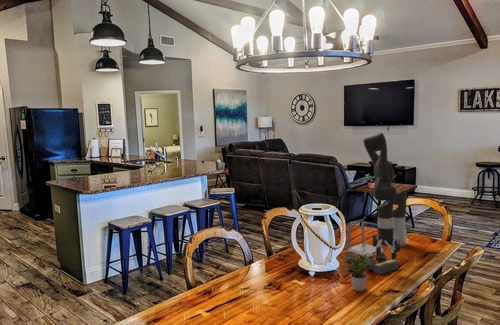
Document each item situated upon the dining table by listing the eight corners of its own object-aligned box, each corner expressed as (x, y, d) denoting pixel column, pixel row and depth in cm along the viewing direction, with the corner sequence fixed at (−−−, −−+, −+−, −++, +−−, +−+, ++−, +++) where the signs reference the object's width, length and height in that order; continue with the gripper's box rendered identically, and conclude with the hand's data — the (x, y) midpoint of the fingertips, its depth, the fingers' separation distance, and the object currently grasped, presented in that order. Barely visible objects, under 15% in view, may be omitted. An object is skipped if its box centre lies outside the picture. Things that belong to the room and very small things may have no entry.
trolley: (344, 261, 207) (343, 222, 205) (359, 256, 214) (358, 218, 212) (372, 270, 193) (371, 228, 190) (387, 264, 199) (386, 224, 197)
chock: (380, 274, 188) (379, 266, 188) (373, 272, 192) (373, 263, 191) (398, 268, 194) (398, 260, 194) (391, 266, 198) (391, 258, 198)
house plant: (353, 278, 185) (353, 245, 183) (381, 286, 175) (380, 251, 173) (337, 288, 175) (336, 253, 173) (365, 297, 165) (364, 260, 163)
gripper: (368, 224, 195) (369, 255, 196) (393, 230, 183) (394, 263, 185) (378, 221, 199) (378, 252, 201) (402, 227, 187) (403, 259, 189)
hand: (386, 257), depth 193 cm, fingers open, 8 cm apart
